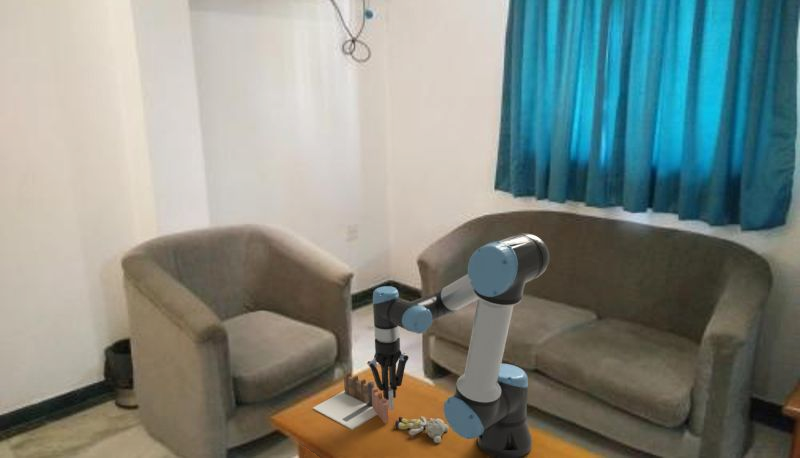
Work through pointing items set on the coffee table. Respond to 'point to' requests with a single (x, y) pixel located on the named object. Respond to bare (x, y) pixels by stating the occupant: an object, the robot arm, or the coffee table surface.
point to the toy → (423, 427)
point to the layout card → (346, 410)
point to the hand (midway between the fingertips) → (390, 407)
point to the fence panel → (380, 405)
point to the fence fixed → (358, 388)
